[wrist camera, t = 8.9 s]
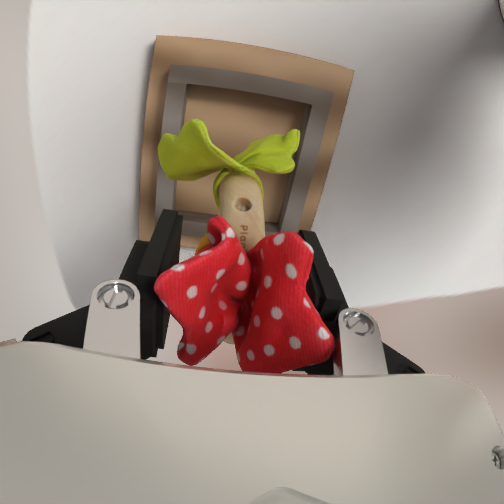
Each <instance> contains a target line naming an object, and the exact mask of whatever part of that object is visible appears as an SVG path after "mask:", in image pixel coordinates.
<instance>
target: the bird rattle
mask: <svg viewBox="0 0 504 504" xmlns="http://www.w3.org/2000/svg"><path fill="white" fill-rule="evenodd" d="M299 141H300V131H299V130H297V129H292V130H290V131H289V132H287V134H286V136H284V135H279V134H274V135H271V136H268V137H265V138H263V139H259V140H256V141H254V142H252V143H250V144H249V146H248V147H247V148H246V149H245V150H244V151H243V152H242V153H240V154H238V155H237V156H235V157H234V158H233V159H232V158H231V157H230V156H228V155H227V154H226V153H224V152H223V151H222V150H220V149H219V148H217V147H216V146H215V145H214V144H212V142H211V140H210V137H209V134H208V130H207V126H206V124H205V123H204V122H203V121H201V120H199V119H192V120H190V121H188V122H186V123H185V124H184V125H183V127H182V128H181V130H180V133H179V135H178V137H177V136H176V135H173V134H169V133H165V134H164V135H163V136H162V138H161V140H160V142H159V144H158V156H159V161H160V165H161V167H162V169H163V171H164V172H165V174H166V177H167V178H168V179H170V180H178V181H195V180H198V179H200V178H203V177H205V176H208V175H210V174H212V173H215V172H218V171H221V172H220V173H219V174H218V175H217V176H216V178H215V180H214V183H213V196H214V200H215V203H216V205H217V208H218V209H219V215H218V216H215V217H213V218H211V219H210V220H209V221H208V224H207V233H206V234H205V235H204V237H203V238H202V239H201V241H200V242H199V244H198V247H197V249H196V253H195V256H194V257H192V258H190V259H188V260H185V261H183V262H181V263H179V264H176V265H174V266H173V267H171V268H170V269H168V270H166V271H165V272H163V273H162V274H160V275H159V277H158V278H157V280H156V282H155V284H154V291H155V293H156V294H157V295H158V297H159V298H160V300H161V301H162V302H163V304H164V305H165V306H166V307H167V309H168V310H169V312H170V313H171V315H172V316H173V317H174V318H175V319H176V320H177V321H178V322H179V324H180V325H181V326H182V328H183V336H182V339H181V341H180V342H179V345H178V351H177V355H178V358H179V359H180V360H181V361H182V362H184V363H186V364H188V365H190V366H193V365H196V364H198V363H199V362H201V361H202V360H203V359H204V358H206V357H207V356H208V355H209V354H210V353H211V352H212V351H213V350H215V349H216V348H217V347H218V346H219V345H220V344H221V343H222V341H224V342H226V343H229V344H235V348H236V354H237V359H238V362H239V365H240V367H241V369H242V371H246V372H260V373H277V374H281V373H282V372H286V371H289V370H293V369H297V368H301V367H305V366H310V365H314V364H319V363H323V362H325V361H327V360H328V359H329V358H330V356H331V354H332V351H333V349H334V345H335V340H334V336H333V335H332V333H331V332H330V331H329V329H328V328H327V326H326V325H325V324H324V322H323V321H322V319H321V317H320V315H319V313H318V312H317V310H316V309H315V307H314V305H313V303H312V301H311V300H310V298H309V296H308V295H307V292H306V282H307V280H308V279H309V274H310V270H311V266H312V262H313V256H314V251H313V248H312V247H311V246H310V245H309V244H308V243H307V242H305V241H304V240H303V239H302V238H301V237H300V236H299V235H298V234H297V233H296V232H293V231H289V232H280V233H274V234H272V235H268V236H266V237H265V221H264V209H263V186H262V182H261V180H260V178H259V177H258V176H257V174H256V173H255V170H261V171H264V172H267V173H271V174H286V173H289V172H291V171H293V169H294V167H295V162H294V161H293V159H292V155H293V153H295V152H296V151H297V149H298V146H299Z"/></svg>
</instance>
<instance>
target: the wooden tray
mask: <svg viewBox="0 0 504 504" xmlns="http://www.w3.org/2000/svg"><path fill="white" fill-rule="evenodd" d="M353 75H354V70H351V69H348V68H344V67H341V66H338V65H334V64H331V63H328V62H324V61H320V60H317V59H313V58H309V57H305V56H301V55H297V54H293V53H288V52H284V51H279V50H274V49H269V48H264V47H259V46H253V45H247V44H241V43H234V42H227V41H220V40H211V39H202V38H191V37H178V36H159V35H156V41H155V46H154V52H153V59H152V65H151V72H150V79H149V87H148V95H147V103H146V112H145V122H144V133H143V145H142V159H141V176H140V199H139V240H142V241H149V242H150V239H151V237H152V234H153V232H154V229H155V227H156V225H157V222H158V220H159V217H160V215H161V213H162V210H163V209H169V210H176V211H178V215H183V222H182V232H181V242H180V246H184V247H192V248H197V247H198V244H199V242H200V241H201V239H202V238H203V237H204V235H205V234H206V233H207V224H208V221H209V220H210V219H211V218H213V217H215V216H218V215H219V209H218V208H217V205H216V203H215V200H214V196H213V183H214V180H215V178H216V176H217V175H218V174H219V173H220V172H221V171H218V172H215V173H212V174H210V175H208V176H205V177H203V178H200V179H198V180H195V181H178V180H170V179H168V178H167V177H166V174H165V172H164V171H163V169H162V167H161V165H160V161H159V156H158V144H159V142H160V140H161V138H162V136H163V135H164V134H165V133H169V134H173V135H176V136H177V137H178V135H179V133H180V130H181V128H182V127H183V125H184V124H185V123H186V122H188V121H190V120H192V119H199V120H201V121H203V122H204V123H205V124H206V126H207V130H208V134H209V137H210V140H211V142H212V144H214V145H215V146H216V147H217V148H219V149H220V150H222V151H223V152H224V153H226V154H227V155H228V156H230V157H231V158H232V159H233V158H234V157H235V156H237V155H238V154H240V153H242V152H243V151H244V150H245V149H246V148H247V147H248V146H249V144H250V143H252V142H254V141H256V140H259V139H263V138H265V137H268V136H271V135H274V134H279V135H284V136H286V134H287V132H289V131H290V130H292V129H297V130H299V131H300V141H299V146H298V149H297V151H296V152H295V153H293V155H292V159H293V161H294V162H295V167H294V169H293V171H291V172H289V173H286V174H271V173H267V172H264V171H261V170H255V173H256V174H257V176H258V177H259V178H260V180H261V182H262V186H263V209H264V221H265V237H266V236H268V235H272V234H274V233H280V232H289V231H293V232H296V233H298V232H299V230H307V231H310V230H311V227H312V224H313V221H314V217H315V214H316V211H317V207H318V204H319V201H320V197H321V194H322V190H323V187H324V184H325V180H326V177H327V173H328V170H329V166H330V163H331V159H332V155H333V152H334V148H335V145H336V141H337V137H338V133H339V130H340V126H341V122H342V118H343V114H344V111H345V107H346V103H347V99H348V95H349V91H350V87H351V83H352V79H353Z"/></svg>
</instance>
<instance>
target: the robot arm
mask: <svg viewBox="0 0 504 504" xmlns="http://www.w3.org/2000/svg"><path fill="white" fill-rule="evenodd" d="M499 3H500V8H501V12H502V16H503V19H504V0H499ZM182 222H183V215H178V211H176V210H169V209H163V210H162V213H161V215H160V217H159V220H158V222H157V225H156V227H155V229H154V232H153V234H152V237H151V239H150V242H149V241H142V240H136V242H135V244H134V246H133V248H132V250H131V252H130V255H129V257H128V259H127V261H126V264H125V266H124V268H123V270H122V273H121V275H120V277H119V280H118V279H116V280H108V281H105V282H102V283H101V284H99V285H98V286H97V287H96V288H95V289H94V290H93V293H92V296H91V301H90V305H88V306H85V307H83V308H81V309H78V310H76V311H74V312H71V313H69V314H66V315H64V316H62V317H59V318H57V319H55V320H52V321H50V322H47V323H45V324H42V325H40V326H38V327H35V328H34V329H32V330H30V331H29V332H28V333H27V334H26V335H25V336H24V338H23V340H22V341H20V342H17V341H16V339H11V340H7V341H3V342H0V504H504V434H503V432H502V429H501V427H500V425H499V423H498V420H497V418H496V416H495V414H494V412H493V410H492V409H491V407H490V405H489V403H488V401H487V400H486V398H485V397H484V395H483V393H482V392H481V391H480V390H479V389H478V388H477V387H476V386H475V385H474V384H472V383H470V382H468V381H466V380H463V379H460V378H457V377H454V376H448V375H443V374H427V373H425V372H424V371H423V370H422V369H421V368H420V367H419V366H418V365H416V364H415V363H413V362H412V361H410V360H409V359H407V358H406V357H404V356H403V355H401V354H400V353H398V352H397V351H395V350H394V349H392V348H391V347H389V346H388V345H386V344H385V343H383V342H382V340H381V335H380V331H379V327H378V324H377V323H376V321H375V320H374V318H373V317H372V316H370V315H369V314H368V313H366V312H364V311H362V310H359V309H355V308H349V307H348V305H347V302H346V300H345V297H344V295H343V293H342V290H341V288H340V285H339V283H338V281H337V278H336V276H335V273H334V271H333V269H332V268H331V267H330V266H329V264H328V261H327V259H326V256H325V254H324V252H323V249H322V247H321V245H320V243H319V240H318V238H317V236H316V233H315V232H312V231H307V230H299V232H298V233H297V234H298V235H299V236H300V237H301V238H302V239H303V240H304V241H305V242H307V243H308V244H309V245H310V246H311V247H312V248H313V251H314V256H313V262H312V266H311V270H310V274H309V279H308V280H307V282H306V292H307V295H308V296H309V298H310V300H311V301H312V303H313V305H314V307H315V309H316V310H317V312H318V313H319V315H320V317H321V319H322V321H323V322H324V324H325V325H326V326H327V328H328V329H329V331H330V332H331V333H332V335H333V336H334V340H335V345H334V349H333V351H332V354H331V356H330V358H329V359H328V360H327V361H325V362H323V363H319V364H314V365H310V366H305V367H301V368H297V369H293V371H305V372H306V373H308V374H307V375H301V374H300V375H299V374H277V373H260V372H246V371H233V370H223V369H212V368H202V367H194V366H186V365H178V364H170V363H163V362H157V361H150V360H146V359H148V358H149V357H156V356H157V351H158V348H159V349H164V344H165V339H166V333H167V328H168V322H169V317H170V312H169V310H168V309H167V307H166V306H165V305H164V304H163V302H162V301H161V300H160V298H159V297H158V295H157V294H156V293H155V291H154V284H155V282H156V280H157V278H158V277H159V275H160V274H162V273H163V272H165V271H166V270H168V269H170V268H171V267H173V266H174V265H176V264H178V263H179V252H180V242H181V232H182Z"/></svg>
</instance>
